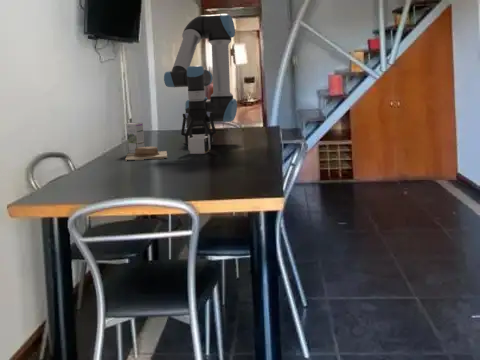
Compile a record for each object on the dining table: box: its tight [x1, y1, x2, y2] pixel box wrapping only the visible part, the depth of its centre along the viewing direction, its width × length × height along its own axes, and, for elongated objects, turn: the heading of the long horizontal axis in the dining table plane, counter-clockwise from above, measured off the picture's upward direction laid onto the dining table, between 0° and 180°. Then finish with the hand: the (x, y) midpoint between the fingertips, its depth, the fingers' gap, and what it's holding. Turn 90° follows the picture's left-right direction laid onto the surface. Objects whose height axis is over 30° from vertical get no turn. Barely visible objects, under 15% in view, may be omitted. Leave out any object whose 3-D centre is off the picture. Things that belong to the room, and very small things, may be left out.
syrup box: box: [125, 122, 145, 153], centre depth 289 cm, size 6×6×14 cm
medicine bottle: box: [189, 127, 209, 155], centre depth 282 cm, size 7×7×12 cm
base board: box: [125, 146, 168, 162], centre depth 276 cm, size 18×18×4 cm
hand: (199, 149), depth 283 cm, fingers closed on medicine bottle, 8 cm apart
